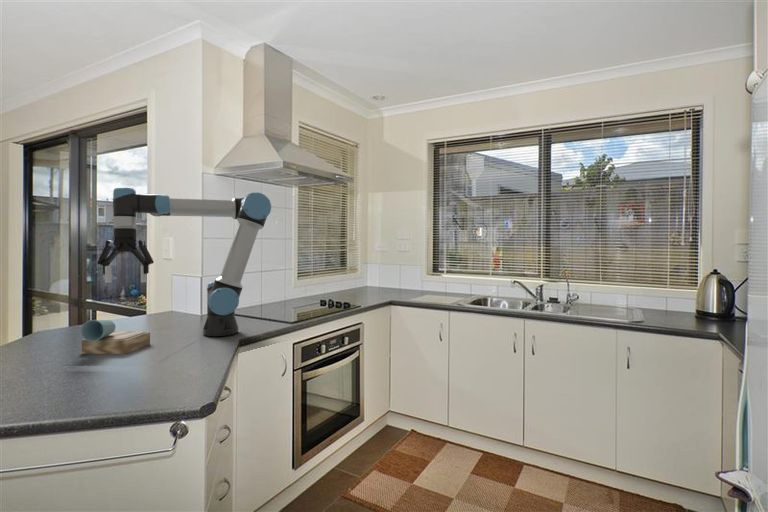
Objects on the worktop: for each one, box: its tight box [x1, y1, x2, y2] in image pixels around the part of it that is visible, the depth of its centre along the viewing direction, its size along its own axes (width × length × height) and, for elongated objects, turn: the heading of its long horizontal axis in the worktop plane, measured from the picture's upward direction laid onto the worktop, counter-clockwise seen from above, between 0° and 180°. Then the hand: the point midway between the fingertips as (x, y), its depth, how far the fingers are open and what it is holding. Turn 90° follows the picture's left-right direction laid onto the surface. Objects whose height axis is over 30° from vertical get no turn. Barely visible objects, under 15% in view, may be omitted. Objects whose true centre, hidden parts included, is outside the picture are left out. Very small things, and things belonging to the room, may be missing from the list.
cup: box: [80, 319, 116, 341], centre depth 156 cm, size 8×8×10 cm
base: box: [81, 330, 151, 355], centre depth 161 cm, size 16×16×5 cm
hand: (126, 282), depth 164 cm, fingers open, 13 cm apart
